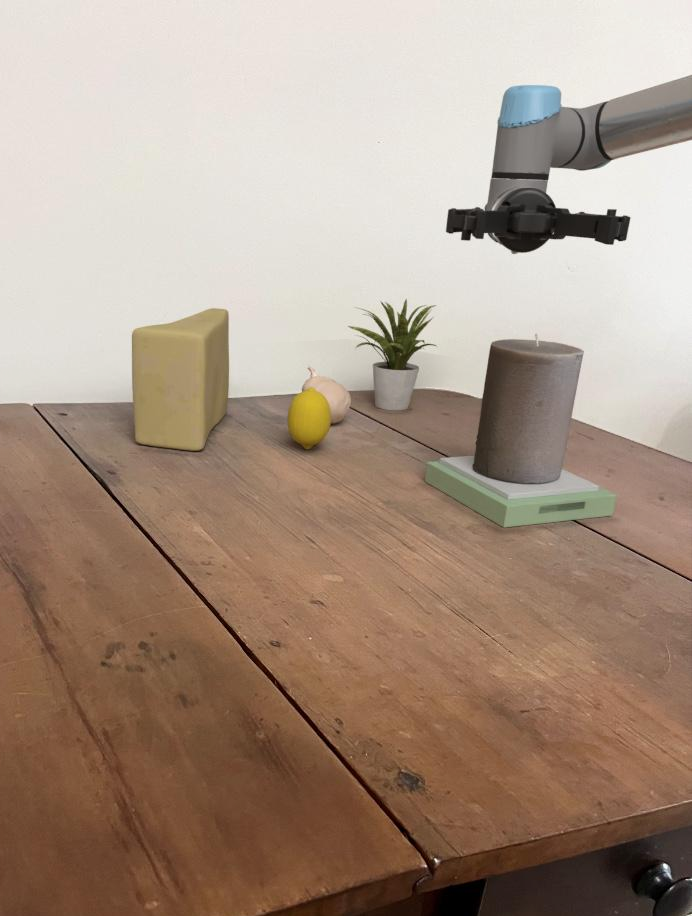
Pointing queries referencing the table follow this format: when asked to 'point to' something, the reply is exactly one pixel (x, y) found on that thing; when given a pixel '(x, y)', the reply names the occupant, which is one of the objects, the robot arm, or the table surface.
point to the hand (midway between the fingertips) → (546, 228)
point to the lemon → (309, 418)
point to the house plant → (396, 357)
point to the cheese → (180, 380)
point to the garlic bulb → (330, 394)
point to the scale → (519, 495)
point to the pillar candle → (526, 410)
